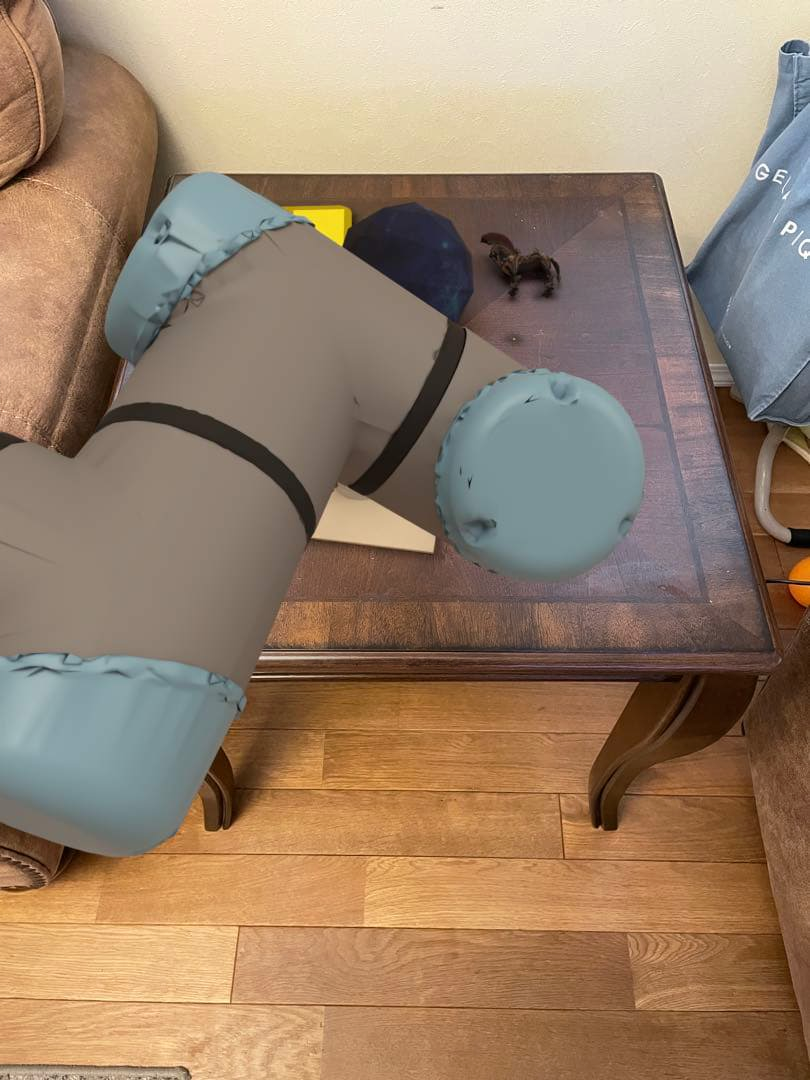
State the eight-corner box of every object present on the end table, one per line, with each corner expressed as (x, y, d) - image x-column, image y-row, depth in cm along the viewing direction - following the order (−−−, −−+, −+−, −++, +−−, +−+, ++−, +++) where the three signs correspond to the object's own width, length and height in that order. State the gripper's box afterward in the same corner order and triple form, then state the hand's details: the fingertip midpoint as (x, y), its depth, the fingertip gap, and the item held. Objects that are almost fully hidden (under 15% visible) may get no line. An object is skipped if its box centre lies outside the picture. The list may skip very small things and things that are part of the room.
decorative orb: (473, 233, 90) (394, 143, 79) (518, 320, 82) (436, 233, 71) (378, 312, 96) (292, 238, 85) (411, 400, 88) (320, 331, 77)
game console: (351, 211, 102) (351, 200, 100) (353, 267, 96) (352, 256, 94) (209, 216, 101) (207, 206, 100) (202, 273, 95) (199, 262, 94)
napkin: (262, 533, 74) (261, 531, 74) (299, 407, 83) (299, 405, 83) (433, 553, 73) (433, 552, 73) (452, 423, 82) (453, 421, 81)
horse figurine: (570, 349, 91) (545, 246, 97) (582, 327, 88) (555, 222, 93) (495, 351, 90) (474, 246, 95) (505, 328, 86) (482, 221, 92)
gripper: (226, 582, 40) (230, 520, 61) (672, 469, 44) (534, 447, 65) (187, 436, 39) (204, 423, 59) (653, 333, 43) (518, 354, 63)
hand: (376, 436), depth 62 cm, fingers open, 13 cm apart
